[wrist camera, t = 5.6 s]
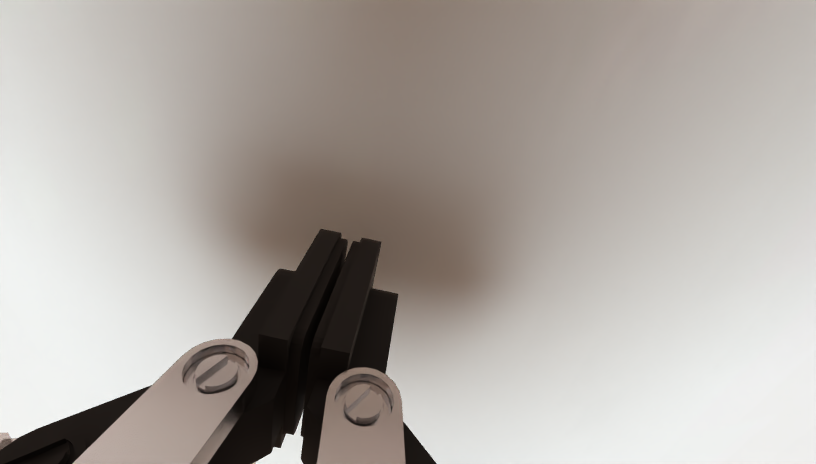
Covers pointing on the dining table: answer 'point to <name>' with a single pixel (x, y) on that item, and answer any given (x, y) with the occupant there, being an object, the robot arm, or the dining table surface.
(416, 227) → the dining table surface
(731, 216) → the dining table surface
